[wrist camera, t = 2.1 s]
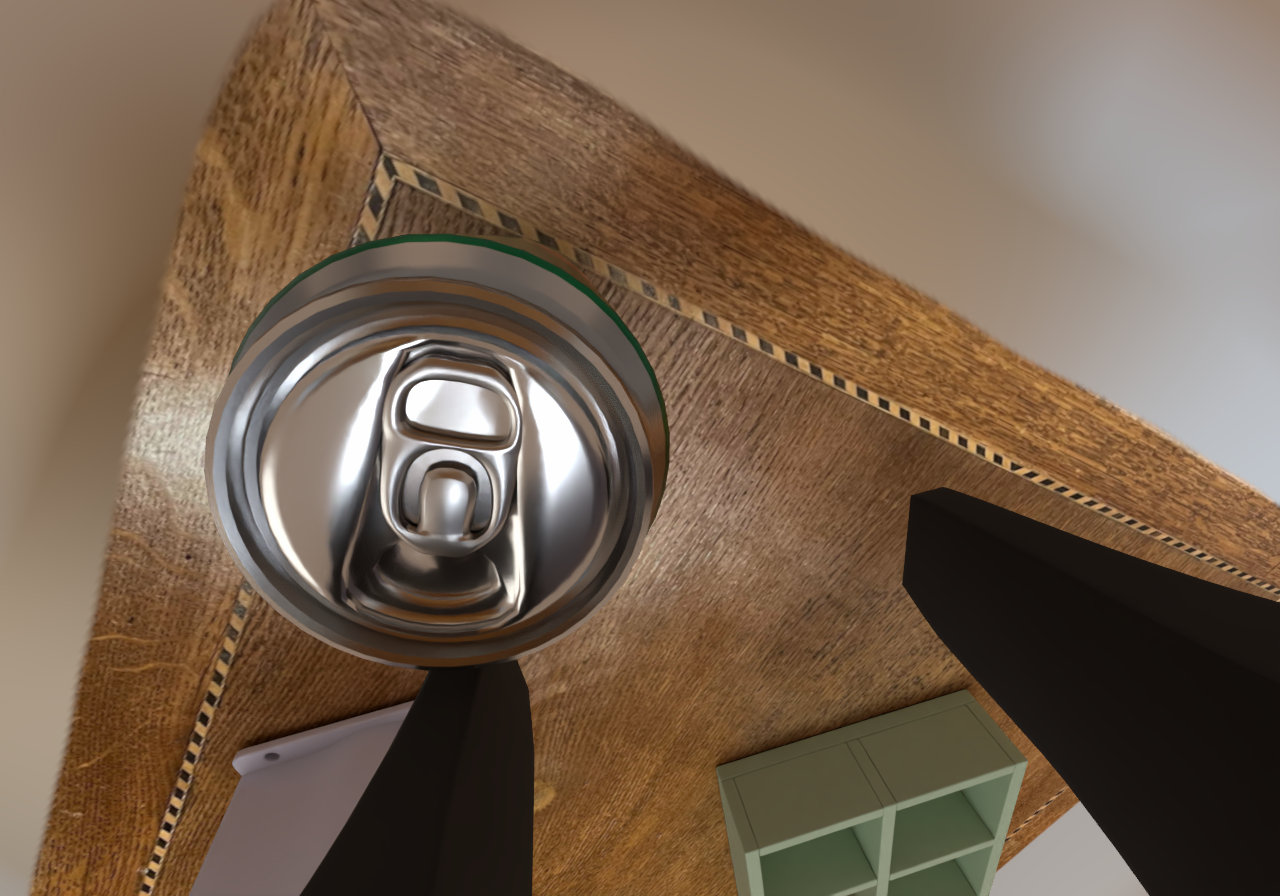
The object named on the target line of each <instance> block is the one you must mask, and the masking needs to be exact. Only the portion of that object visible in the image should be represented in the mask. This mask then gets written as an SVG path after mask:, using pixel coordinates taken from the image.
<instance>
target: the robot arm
mask: <svg viewBox="0 0 1280 896" xmlns="http://www.w3.org/2000/svg"><path fill="white" fill-rule="evenodd" d="M902 585H903V586H904V588H905V589H906V591H907V592H908V594H909V595H910V597H911V598H912V600H913V601H914V603H915V604H916V606H917V607H918V609H919V610H920V612H921V613H922V615H923V616H924V617H925V619H926V620H927V622H928V623H929V624H930V626H931V627H932V629H933V630H934V631H935V633H936V634H937V635H938V637H939V638H940V639H941V640H942V641H943V642H944V644H945V645H946V646H947V647H948V648H949V649H950V651H951V652H952V653H953V654H954V655H955V656H956V657H957V659H958V660H959V661H960V662H961V663H962V664H963V665H964V667H965V668H966V669H967V670H968V671H969V672H970V673H971V674H972V676H973V677H974V678H975V679H976V680H977V681H978V682H979V683H980V685H981V686H982V687H983V688H984V689H985V690H986V691H987V692H988V694H989V695H990V696H991V697H992V698H993V699H994V700H995V701H996V702H997V704H998V705H999V706H1000V707H1001V708H1002V709H1003V710H1004V711H1005V713H1006V714H1007V715H1008V716H1009V717H1010V718H1011V719H1012V720H1013V721H1014V723H1015V724H1016V725H1017V726H1018V727H1019V728H1020V729H1021V730H1022V732H1023V733H1024V734H1025V735H1026V736H1027V737H1028V738H1029V739H1030V741H1031V742H1032V743H1033V744H1034V745H1035V746H1036V747H1037V748H1038V749H1039V751H1040V752H1041V753H1042V754H1043V755H1044V756H1045V758H1046V759H1047V760H1048V761H1049V762H1050V764H1051V765H1052V766H1053V767H1054V768H1055V770H1056V771H1057V772H1058V773H1059V774H1060V776H1061V777H1062V778H1063V779H1064V780H1065V782H1066V783H1067V784H1068V786H1069V787H1070V788H1071V790H1072V791H1073V792H1074V794H1075V795H1076V796H1077V797H1078V799H1079V800H1080V801H1081V803H1082V804H1083V805H1084V807H1085V808H1086V809H1087V811H1088V812H1089V813H1090V815H1091V816H1092V817H1093V819H1094V820H1095V821H1096V823H1097V824H1098V825H1099V827H1100V828H1101V829H1102V831H1103V832H1104V833H1105V835H1106V836H1107V837H1108V839H1109V840H1110V841H1111V843H1112V844H1113V845H1114V847H1115V848H1116V849H1117V851H1118V852H1119V854H1120V855H1121V856H1122V858H1123V859H1124V860H1125V862H1126V863H1127V865H1128V866H1129V867H1130V869H1131V870H1132V871H1133V873H1134V874H1135V876H1136V877H1137V879H1138V880H1139V882H1140V883H1141V884H1142V886H1143V887H1144V888H1145V890H1146V891H1147V893H1148V894H1149V896H1280V602H1276V601H1273V600H1269V599H1265V598H1262V597H1258V596H1255V595H1251V594H1248V593H1244V592H1241V591H1237V590H1234V589H1231V588H1228V587H1224V586H1221V585H1218V584H1215V583H1211V582H1208V581H1205V580H1202V579H1199V578H1196V577H1193V576H1190V575H1187V574H1184V573H1181V572H1178V571H1175V570H1172V569H1169V568H1166V567H1163V566H1160V565H1157V564H1154V563H1151V562H1148V561H1145V560H1142V559H1139V558H1136V557H1133V556H1130V555H1128V554H1125V553H1122V552H1119V551H1116V550H1114V549H1111V548H1108V547H1105V546H1103V545H1100V544H1097V543H1094V542H1092V541H1089V540H1086V539H1083V538H1081V537H1078V536H1075V535H1073V534H1070V533H1067V532H1065V531H1062V530H1059V529H1057V528H1054V527H1052V526H1049V525H1046V524H1044V523H1041V522H1038V521H1036V520H1033V519H1031V518H1028V517H1025V516H1023V515H1020V514H1018V513H1015V512H1012V511H1010V510H1007V509H1004V508H1002V507H999V506H996V505H994V504H991V503H988V502H986V501H983V500H980V499H978V498H975V497H972V496H969V495H966V494H964V493H961V492H958V491H955V490H951V489H948V488H945V487H941V488H938V489H934V490H930V491H926V492H922V493H918V494H915V495H911V500H910V510H909V521H908V531H907V541H906V552H905V562H904V572H903V583H902ZM232 765H233V767H234V768H235V769H236V770H237V771H238V772H239V774H240V775H241V776H242V777H241V779H240V781H239V783H238V786H237V788H236V790H235V792H234V795H233V797H232V799H231V802H230V804H229V806H228V808H227V811H226V813H225V815H224V817H223V820H222V822H221V824H220V826H219V829H218V831H217V833H216V835H215V838H214V840H213V842H212V844H211V847H210V849H209V851H208V853H207V856H206V858H205V860H204V862H203V865H202V867H201V869H200V871H199V874H198V876H197V878H196V880H195V883H194V885H193V887H192V889H191V892H190V894H189V896H532V867H533V813H534V744H533V732H532V720H531V710H530V700H529V690H528V687H527V684H526V682H525V679H524V676H523V674H522V671H521V669H520V666H519V664H518V661H517V659H516V660H513V661H509V662H505V663H501V664H497V665H493V666H488V667H483V668H474V669H465V670H456V671H447V670H429V672H428V674H427V676H426V678H425V680H424V682H423V684H422V686H421V688H420V690H419V692H418V694H417V696H416V698H415V700H413V701H410V702H406V703H403V704H399V705H396V706H392V707H389V708H385V709H382V710H378V711H375V712H371V713H368V714H364V715H361V716H357V717H354V718H350V719H347V720H343V721H340V722H336V723H333V724H329V725H325V726H322V727H318V728H315V729H311V730H308V731H304V732H301V733H297V734H294V735H290V736H287V737H283V738H280V739H276V740H273V741H269V742H266V743H262V744H259V745H255V746H252V747H248V748H245V749H242V750H240V751H238V752H237V753H236V755H235V757H234V759H233V763H232Z"/></svg>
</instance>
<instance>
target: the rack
mask: <svg viewBox="0 0 1280 896" xmlns="http://www.w3.org/2000/svg"><path fill="white" fill-rule="evenodd" d="M1027 763H1028V760H1027V759H1026V758H1025V756H1024V755H1023V754H1022V753H1021V752H1020V751H1019V750H1018V748H1017V747H1016V746H1015V745H1014V744H1013V743H1012V741H1011V740H1010V739H1009V738H1008V737H1007V736H1006V734H1005V733H1004V732H1003V731H1002V730H1001V729H1000V727H999V726H998V725H997V724H996V723H995V722H994V720H993V719H992V718H991V717H990V716H989V715H988V714H987V712H986V711H985V710H984V709H983V708H982V707H981V705H980V704H979V703H978V702H977V701H976V700H975V698H974V697H973V696H972V695H971V694H970V693H969V691H968V690H967V689H964V690H961V691H958V692H954V693H951V694H948V695H945V696H942V697H938V698H935V699H932V700H929V701H926V702H922V703H919V704H916V705H913V706H910V707H906V708H903V709H900V710H897V711H894V712H890V713H887V714H884V715H881V716H878V717H874V718H871V719H868V720H865V721H862V722H858V723H855V724H852V725H849V726H846V727H842V728H839V729H836V730H833V731H830V732H826V733H823V734H820V735H817V736H814V737H810V738H807V739H804V740H801V741H798V742H794V743H791V744H788V745H785V746H782V747H778V748H775V749H772V750H769V751H766V752H762V753H759V754H756V755H753V756H750V757H746V758H743V759H740V760H737V761H734V762H730V763H727V764H724V765H721V766H718V767H716V771H717V777H718V783H719V788H720V794H721V800H722V806H723V811H724V817H725V823H726V828H727V834H728V840H729V846H730V851H731V857H732V863H733V869H734V874H735V880H736V886H737V891H738V896H989V893H990V890H991V886H992V883H993V879H994V876H995V873H996V869H997V866H998V862H999V859H1000V855H1001V852H1002V849H1003V845H1004V842H1005V838H1006V835H1007V831H1008V828H1009V825H1010V821H1011V818H1012V814H1013V811H1014V807H1015V804H1016V801H1017V797H1018V794H1019V790H1020V787H1021V783H1022V780H1023V777H1024V773H1025V770H1026V766H1027Z"/></svg>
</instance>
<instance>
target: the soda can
mask: <svg viewBox="0 0 1280 896" xmlns="http://www.w3.org/2000/svg"><path fill="white" fill-rule="evenodd" d="M669 448H670V432H669V426H668V420H667V414H666V408H665V402H664V399H663V396H662V393H661V390H660V387H659V384H658V381H657V378H656V375H655V373H654V370H653V368H652V366H651V365H650V363H649V361H648V359H647V357H646V355H645V353H644V351H643V350H642V348H641V346H640V344H639V342H638V341H637V339H636V338H635V337H634V335H633V334H632V333H631V332H630V330H629V329H628V328H627V326H626V325H625V324H624V322H623V321H622V320H621V318H620V317H619V316H618V314H617V313H616V312H615V311H614V310H613V308H612V307H611V306H610V305H609V303H608V302H607V301H606V300H605V299H604V297H603V296H602V295H601V294H600V292H599V291H598V290H597V289H596V288H595V286H594V285H593V284H592V283H591V281H590V280H589V279H588V278H587V277H586V275H585V274H584V273H583V272H582V270H581V269H580V268H579V267H578V266H577V265H576V264H575V263H574V262H573V261H572V260H570V259H569V258H568V257H567V256H565V255H564V254H562V253H561V252H560V251H558V250H556V249H554V248H552V247H550V246H548V245H546V244H544V243H541V242H538V241H535V240H532V239H527V238H520V237H508V236H488V235H468V234H406V235H401V236H396V237H390V238H385V239H380V240H374V241H369V242H366V243H364V244H361V245H358V246H355V247H353V248H350V249H347V250H345V251H342V252H339V253H337V254H334V255H331V256H330V257H328V258H326V259H325V260H323V261H321V262H320V263H318V264H316V265H315V266H313V267H311V268H310V269H308V270H306V271H304V272H303V273H301V274H299V275H298V276H297V277H296V278H295V279H294V280H292V281H291V282H290V283H289V284H288V285H287V286H286V287H284V288H283V289H282V290H281V291H280V292H279V293H278V294H276V295H275V296H274V297H273V298H272V299H271V300H270V301H269V302H268V304H267V305H266V306H265V308H264V309H263V310H262V312H261V313H260V314H259V316H258V317H257V318H256V319H255V321H254V322H253V323H252V325H251V326H250V327H249V329H248V331H247V333H246V335H245V337H244V339H243V341H242V343H241V345H240V347H239V349H238V351H237V353H236V355H235V357H234V359H233V362H232V366H231V370H230V373H229V377H228V379H227V381H226V384H225V386H224V388H223V390H222V392H221V394H220V396H219V398H218V400H217V402H216V404H215V406H214V410H213V414H212V418H211V421H210V425H209V429H208V433H207V437H206V451H205V468H204V472H205V479H206V487H207V494H208V501H209V505H210V508H211V512H212V515H213V518H214V521H215V524H216V527H217V530H218V533H219V535H220V537H221V539H222V541H223V543H224V545H225V546H226V548H227V550H228V552H229V554H230V556H231V558H232V560H233V561H234V563H235V565H236V566H237V567H238V569H239V570H240V571H241V572H242V574H243V575H244V576H245V578H246V579H247V580H248V582H249V583H250V584H251V586H252V587H253V588H254V589H255V590H256V591H257V592H258V593H259V594H260V595H261V596H262V597H263V598H264V599H265V600H266V601H267V602H268V603H269V604H270V605H271V606H272V607H273V608H274V609H275V610H276V611H277V612H278V613H280V614H281V615H282V616H284V617H285V618H287V619H288V620H289V621H291V622H292V623H293V624H295V625H296V626H298V627H299V628H300V629H302V630H303V631H304V632H306V633H308V634H310V635H312V636H314V637H315V638H317V639H319V640H321V641H323V642H325V643H327V644H328V645H330V646H332V647H334V648H337V649H340V650H342V651H345V652H347V653H350V654H352V655H355V656H357V657H360V658H363V659H367V660H370V661H374V662H378V663H382V664H386V665H390V666H395V667H403V668H410V669H418V670H447V671H456V670H465V669H474V668H483V667H488V666H493V665H497V664H501V663H505V662H509V661H513V660H516V659H519V658H522V657H524V656H527V655H530V654H532V653H535V652H538V651H540V650H543V649H544V648H546V647H548V646H550V645H552V644H554V643H556V642H557V641H559V640H561V639H563V638H565V637H567V636H568V635H570V634H571V633H572V632H574V631H575V630H576V629H578V628H579V627H581V626H582V625H583V624H585V623H586V622H587V621H589V620H590V619H591V618H592V617H593V616H594V615H595V614H596V613H597V612H598V611H599V610H600V609H601V608H602V607H603V606H604V605H605V604H607V603H608V602H609V601H610V599H611V598H612V597H613V595H614V594H615V593H616V591H617V590H618V589H619V588H620V586H621V585H622V584H623V582H624V581H625V580H626V578H627V576H628V575H629V573H630V571H631V569H632V567H633V565H634V563H635V561H636V559H637V558H638V556H639V554H640V551H641V548H642V545H643V542H644V539H645V537H646V535H647V533H648V531H649V529H650V527H651V525H652V523H653V522H654V520H655V518H656V515H657V512H658V509H659V506H660V503H661V500H662V497H663V494H664V491H665V486H666V480H667V474H668V468H669Z"/></svg>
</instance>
